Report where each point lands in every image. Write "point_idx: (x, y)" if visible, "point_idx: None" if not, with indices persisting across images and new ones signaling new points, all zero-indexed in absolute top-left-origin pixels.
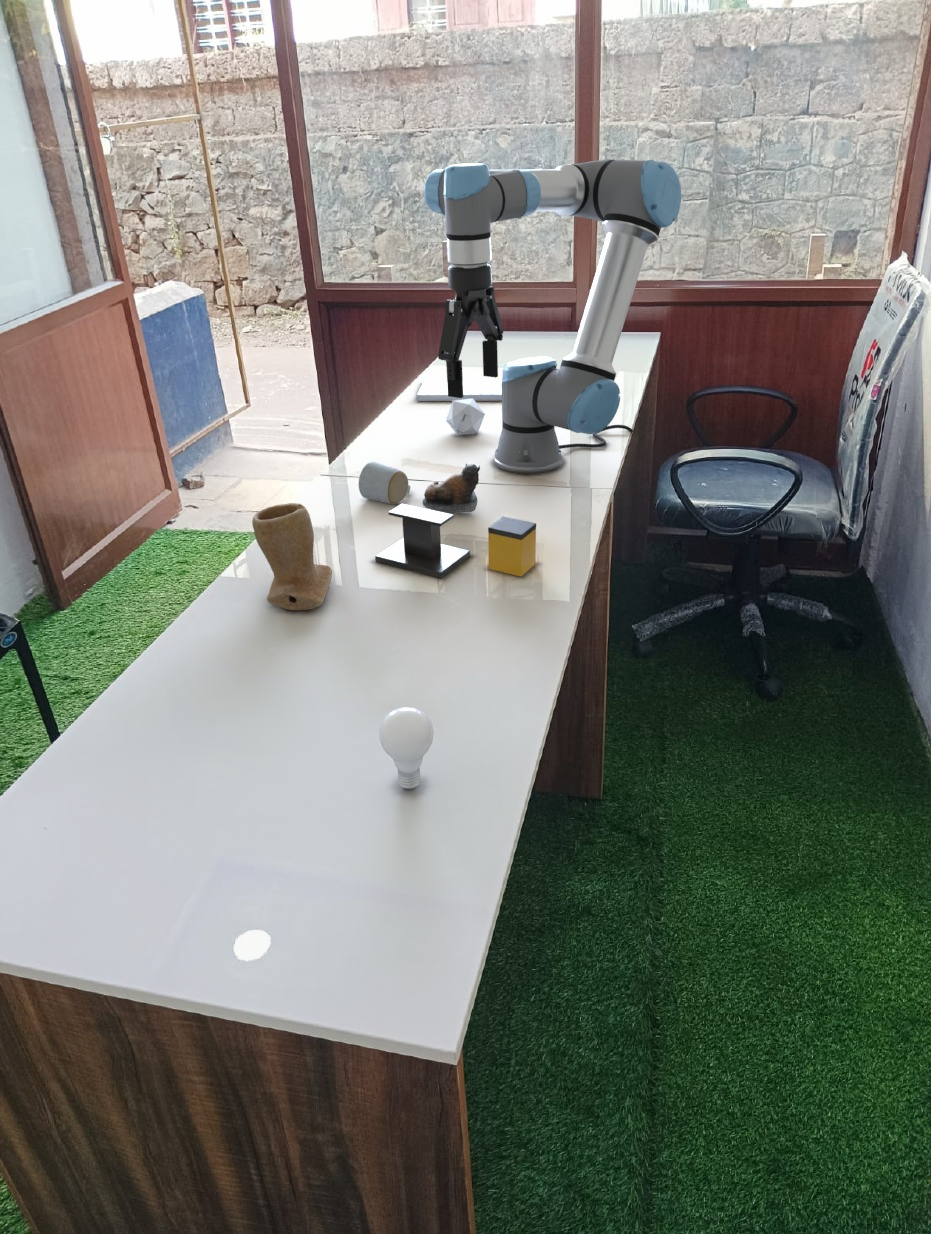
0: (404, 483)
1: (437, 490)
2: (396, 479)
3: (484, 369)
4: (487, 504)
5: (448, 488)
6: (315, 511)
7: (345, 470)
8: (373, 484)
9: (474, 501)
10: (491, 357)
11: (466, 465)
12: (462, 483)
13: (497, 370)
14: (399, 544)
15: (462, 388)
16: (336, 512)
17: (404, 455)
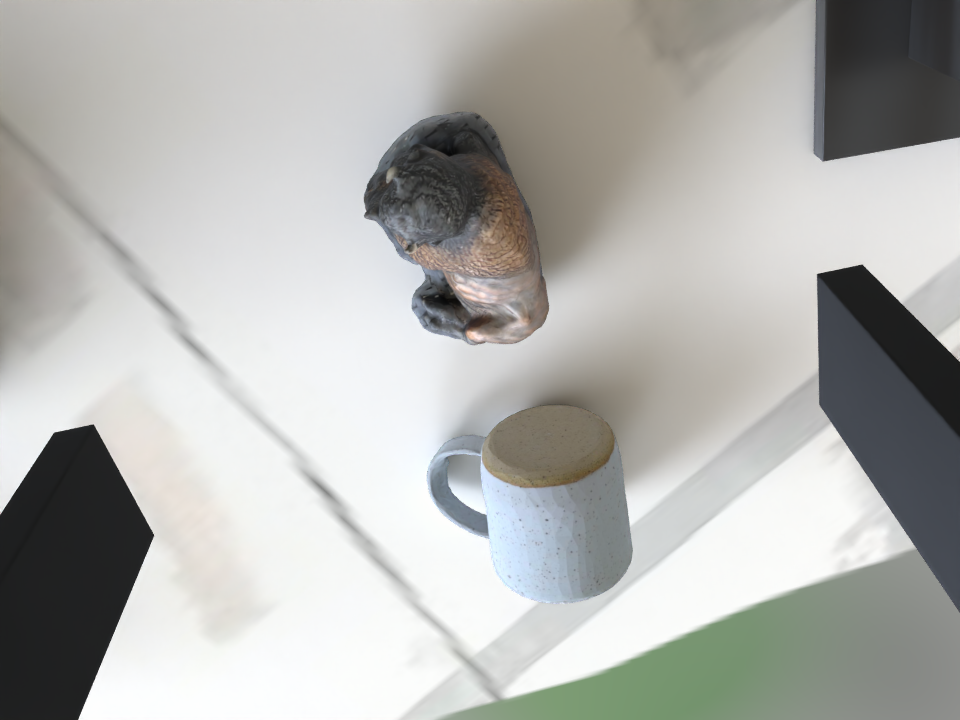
0: (514, 446)
1: (539, 275)
2: (574, 458)
3: (128, 572)
4: (311, 142)
5: (529, 229)
6: (751, 551)
7: (432, 692)
8: (624, 503)
9: (439, 124)
10: (35, 614)
11: (415, 244)
12: (497, 181)
13: (34, 471)
14: (912, 120)
15: (866, 315)
16: (723, 503)
17: (198, 658)
